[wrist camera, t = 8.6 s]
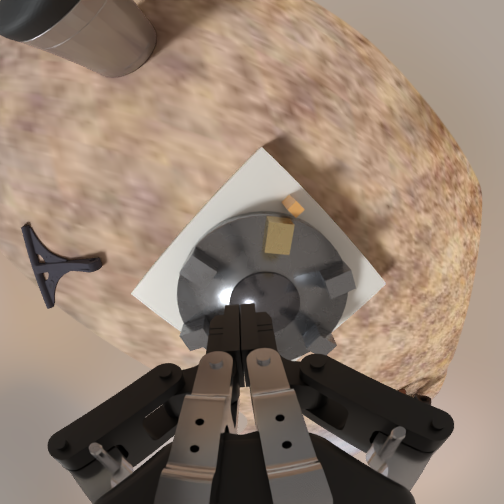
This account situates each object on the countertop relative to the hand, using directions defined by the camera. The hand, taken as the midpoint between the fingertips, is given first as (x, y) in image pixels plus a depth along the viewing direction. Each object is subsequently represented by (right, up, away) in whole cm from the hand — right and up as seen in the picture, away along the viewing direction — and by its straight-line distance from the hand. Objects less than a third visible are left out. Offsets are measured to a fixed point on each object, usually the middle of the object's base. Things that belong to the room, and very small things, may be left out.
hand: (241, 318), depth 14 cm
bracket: (-28, +2, +21) cm, 35 cm away
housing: (+2, 0, +23) cm, 23 cm away
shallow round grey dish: (+2, -1, +20) cm, 20 cm away
